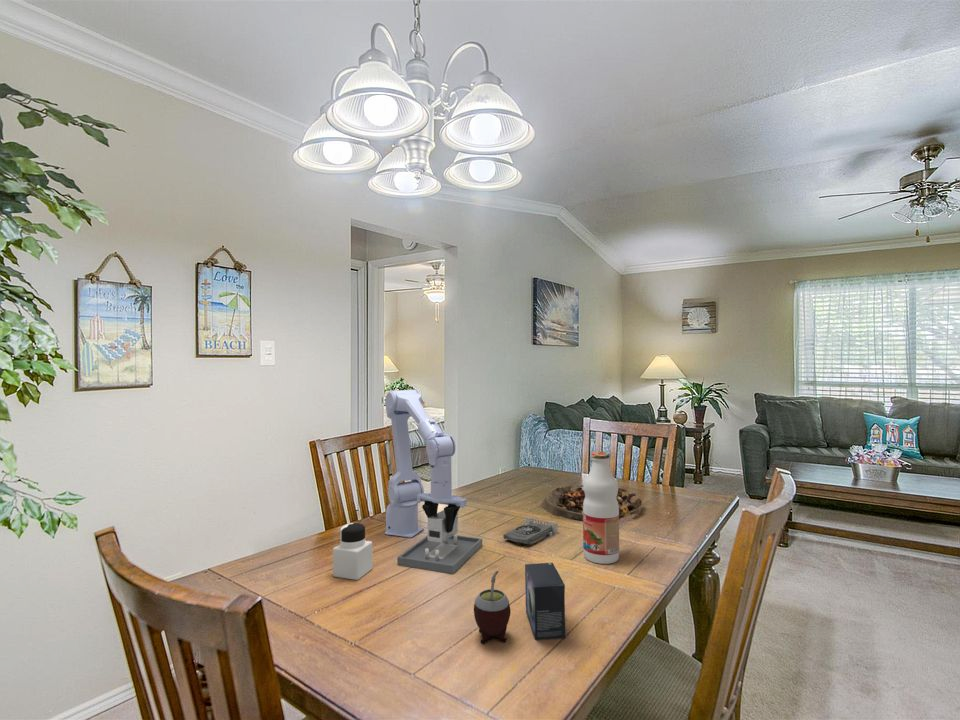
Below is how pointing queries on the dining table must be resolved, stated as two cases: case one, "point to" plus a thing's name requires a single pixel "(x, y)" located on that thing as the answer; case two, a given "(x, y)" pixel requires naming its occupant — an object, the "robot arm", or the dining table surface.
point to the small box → (545, 601)
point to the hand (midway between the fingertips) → (441, 530)
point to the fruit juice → (600, 512)
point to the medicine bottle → (352, 553)
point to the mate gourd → (492, 613)
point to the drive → (440, 527)
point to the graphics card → (532, 531)
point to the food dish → (572, 503)
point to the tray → (440, 554)
